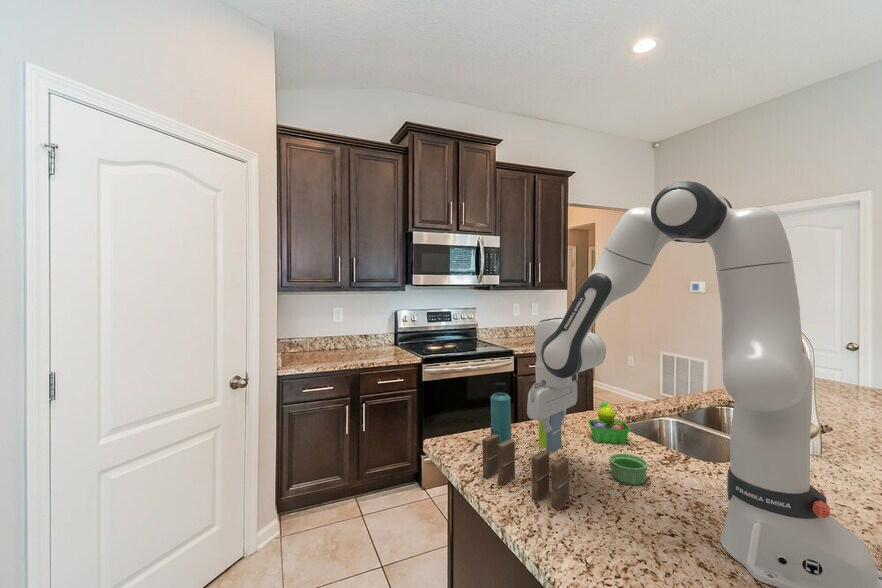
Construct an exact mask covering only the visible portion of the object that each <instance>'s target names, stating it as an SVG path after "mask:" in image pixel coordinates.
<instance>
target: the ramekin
mask: <svg viewBox="0 0 882 588" xmlns="http://www.w3.org/2000/svg"><path fill="white" fill-rule="evenodd" d="M608 460H609V463H610V471H611V472H610V473H611V476H612V477H613V478H614V479H615V480H617V481H618V482H621V483H624V484H628V485H642V484H644V483H645V482H646V480H647V470H648V467H649V464H648V462H647V461H646V460H645V459H644V458H642V457H640V456H638V455H634V454H631V453H630V454H629V453H621V452H619V453H613V454H611V455H609V459H608Z"/></svg>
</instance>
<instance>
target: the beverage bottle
mask: <svg viewBox="0 0 882 588" xmlns="http://www.w3.org/2000/svg"><path fill="white" fill-rule="evenodd" d="M507 384H508V383H506V382H504V381H503V382H501V381H499V382H495V383H494V384H493V391H494V393H493V394H491V396H490V436H491V435H493V434H496V435H499V444H500V443H502V442H504V441H506V440H508V439H511V440H512V418H511V416H512V415H511V414H512V413H511V399H512V398H511V396H510V395H509V394H508V393H506V391H508V386H507Z"/></svg>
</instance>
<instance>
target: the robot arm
mask: <svg viewBox="0 0 882 588" xmlns="http://www.w3.org/2000/svg"><path fill="white" fill-rule="evenodd" d="M673 241H674V242H676V243H689V244H691V243H692V244H704V243H707V244H708V245H709V246H710V248H711V250H712V252H713V255H714V261H715V262H714V263H715V271H716V277H717V285H718V291H719V298H720V301H719V302H720V308H721V355H722V381H723V386H724V389H725V390H726V392H727V393H728V395H729V396H730V397H731V399H732V400H734V402H733V410H732V411H733V412H732V418H731V424H730V428H729V429H730V431H729V432H730V439H729V440H730V443H729V445H730V448H729V449H730V451H729V452H730V454H729V455H730V459H729V460H730V466H729V468H728V469H727V473H726V493H727V498H728V506H727V513H726V518H725V522H724V526H723V529H722V531H721V533H720V536H719V540H720V541H719V542H720V544H721V546H722V547H723V549H724V550H725V551H726V553H727V554H729V555H730V556H731V557H733V559H734V560H736V561H737V562H739V563H740V564H741V565H743V567H745V568H746V570H747V571H748V573H750V575H751V576H752V577H753V578H755V579H756V580H757V581H759V582H761V583H764V584H767V585H770V586H772V587H776V588H882V571H881V570H880V569H878V568H877V566H876V563H875V561H874V559H873V556H872V554H871V552H870V550H869V547H867V545H866V543H865V542H864V541H863V540H862V539H861V538H860V537H858V536H857V535H856V534H854V533H853V532H852V531H850V530H849V529H848V528H847V527H846V526H844V525H843V524H842V523H840V521H838V520H836V519H835V518H834V517H833V516H832V515H830V514H831V508H830V506H829V505H828V501H827V497H826V495H825V493H824V490H823V489H820V491H819V490H818V489H817V488H815V487H814V486H812V485H811V431H812V430H811V429H812V428H811V427H812V405H813V402H812V401H813V375H814V374H813V365H812V362H811V360H810V358H809V357H808V355H807V354H806V353H805V352H804V347H803V346H804V345H803V336H802V324H801V321H802V320H801V306H800V301H799V300H800V299H799V293H798V287H797V281H796V279H797V278H796V274H795V267H794V260H793V256H792V251H791V246H790V243H789V239H788V235H787V233H786V230H785V228H784V225H783V223H782V220H781V218H780V216H779V215H778V213H777V212H775V211H774V210H772V209H770V208H765V207H761V206H759V207H758V206H755V207H754V206H751V207H743V208H733V206H732V204H731V203H730V201H729V200H728V199H727V198H726V197H724V196H722V195H721V194H720V193H719V192H718V191H717V190H715V189H714V188H712V187H709V186H706V185H704V184H703V183H699V182H697V181H689V180H686V181H679V182H674V183H673V184H670V185H668V186H666V187H665V188H663V189H661V190H660V191H659V193H657V194H656V196H655V198H654V200H653V201H652V204H651V207H644V206H637V207H633V208H630V209H628V210H627V211H626V212H625V213H624V214H623V215H622V217H621V218H620V220H619V221H618V222H617V224H616V225H615V226H614V228H613V230H612V232H611V234H610V235H609V237H608V238H607V240H606V242H605V245H604V247H603V249H602V251H601V252H600V255H599V257H598V260H597V261H596V263H595V264H594V267H593V269H592V270H591V272H590V273H589V275H588V277H587V278H586V280H585V281H584V282H583V284H582V286H581V287H580V288H579V290H578V292H577V293H576V295H575V297H574V299H573V300H572V303H571V304H570V306H569V308H568V309H567V311H566V313H565V315H564V317H553V318H546V319H542V320H540V321H539V322H537V324H536V325H535V326H536V327H535V330H534V331H535V332H534V352H535V355H536V361H535V382H534V383H533V384H532V387H531V388H530V389H529V392H528V394H527V396H528V397H527V405H526V414H527V417H528V418H529V419H530V420H533V421H538V422H539V421H541V423H542V425H543V431H544V432H546V433H549V432H551V431H552V425H550V424H549V420H550V416H552V415H554V414H556V413H558V412H560V411H561V427H562V426H564V424H565V418H566V414H567V409H568V408H569V409H570V408H572V407H573V406H575V405H577V404H576V403H577V402H578V383H577V381H578V379H579V373H582V372H584V371H585V372H586V371H587V370H590V369H594V368H596V367H597V366H600V365H601V364H603V362H604V360H605V358H606V352H607V351H606V345H605V342H604V341H603V339H602V338H601V337H600V336H599V335H598V334H596V333H595V332H591V330H592V328H593V326H594V325H595V323H596V321H597V319H598V318H599V316H600V315H601V313H602V312H603V311H604V310H605V308H607V307H608V306H609V305H611V304H612V303H613V302H616V301H617V300H619V299H620V298H623V297H625V296H627V295H629V294H631V293H634V292H635V291H636V290H637V289H638V288H639V287H640V286H641V285H642V284H643V282H644V281H645V280H646V278H647V277H648V275H649V273H650V272H651V269H652V268H653V266H654V264H655V261H657V258H658V256H659V254H660V252H662V249H663V248H664V247H665V246H666V245H667V244H669V243H670V242H673Z"/></svg>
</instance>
